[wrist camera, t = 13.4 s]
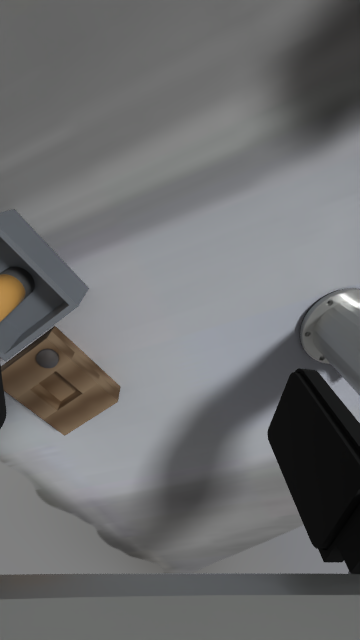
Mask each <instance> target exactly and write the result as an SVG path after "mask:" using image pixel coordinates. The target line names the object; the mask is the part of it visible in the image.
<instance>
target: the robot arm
mask: <svg viewBox="0 0 360 640" xmlns="http://www.w3.org/2000/svg"><path fill="white" fill-rule="evenodd" d="M300 340H301V344H302V346H303V349H304V350H305V351H306V352H307V354H308V355H309V356H310V357H311V358H313V359H314V360H316V361H318V362H321V363H326V364H331V365H332V366H333V367H334V368H335V369H336V370H337V371H338V372H339V373H340V375H341V376H342V377H343V378H344V379H345V380H346V381H347V382H348V383H349V384H350V386H351V387H352V388H353V389H354V390H355V391H356V392H357V393H358V394H359V395H360V289H357V288H347V289H342V290H338V291H335V292H333V293H330V294H328V295H327V296H325V297H323V298H322V299H321V300H319V301H318V302H317V303H316V304H315V305H314V306H313V307H312V308H311V309H310V310H309V312H308V313H307V314H306V316H305V318H304V320H303V322H302V325H301V329H300ZM5 418H6V405H5V397H4V389H3V381H2V374H1V366H0V429H1V427H2V425H3V423H4V421H5ZM268 440H269V442H270V445H271V447H272V450H273V452H274V454H275V457H276V459H277V462H278V464H279V466H280V469H281V471H282V474H283V476H284V478H285V481H286V483H287V485H288V488H289V490H290V493H291V495H292V497H293V500H294V502H295V505H296V507H297V509H298V512H299V514H300V517H301V519H302V521H303V524H304V526H305V528H306V531H307V533H308V536H309V538H310V540H311V542H312V544H313V546H314V547H315V548H318V549H319V552H320V554H321V556H322V559H323V561H324V562H343V561H345V563H346V565H347V567H348V569H349V572H348V574H40V575H39V574H33V575H0V640H360V423H359V422H358V421H357V420H356V418H355V417H354V416H353V415H352V413H351V412H350V411H349V410H348V409H347V407H346V406H345V405H344V404H343V402H342V401H341V400H340V399H339V397H338V396H337V395H336V394H335V393H334V391H333V390H332V389H331V388H330V386H329V385H328V384H327V383H326V381H325V380H324V379H323V378H322V376H321V375H320V374H319V373H318V372H317V371H315V370H308V369H297V370H296V371H295V372H293V373H291V375H290V376H289V379H288V381H287V384H286V386H285V389H284V391H283V394H282V396H281V399H280V401H279V404H278V406H277V409H276V411H275V414H274V416H273V419H272V421H271V424H270V426H269V429H268Z"/></svg>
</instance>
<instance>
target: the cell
mask: <svg viewBox="0 0 360 640" xmlns="http://www.w3.org/2000/svg"><path fill="white" fill-rule="evenodd" d="M34 287H35V282H34V279H33V277H32V275H31V274H30V273H29V272H28V271H26V270H25V269H23V268H20V267H9V268H7V269H5V270H4V271H2V272H1V273H0V322H1V321H2V320H3V319H4V318H5V317H6V316H7V315H8V314H9V313H10V312H11V311H12V310H14V309H15V308H16V307H17V306H18V305H19V304H20V303H21V302H22V301H23V300H24V299H25V298H26V297H28V296H29V295H30V294H31V293H32V292H33V290H34Z"/></svg>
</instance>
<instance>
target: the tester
mask: <svg viewBox="0 0 360 640" xmlns="http://www.w3.org/2000/svg"><path fill="white" fill-rule="evenodd" d="M1 374H2V381H3V389H4V391H5V392H7V393H8V394H9V395H11V396H12V397H13V398H15V399H16V400H17V401H19V402H20V403H21V404H23V405H24V406H25V407H27V408H28V409H29V410H31V411H32V412H33V413H35V414H36V415H38V416H39V417H40V418H42V419H43V420H44V421H46V422H47V423H48V424H50V425H51V426H52V427H54V428H55V429H56V430H58V431H59V432H60V433H62V434H63V435H66V434H68V433H70V432H71V431H73V430H74V429H76V428H77V427H79V426H81V425H82V424H84V423H85V422H87V421H88V420H90V419H92V418H93V417H95V416H96V415H98V414H99V413H101V412H103V411H104V410H106V409H107V408H109V407H110V406H112V405H114V404H115V403H117V402H118V398H119V392H120V386H119V385H118V384H117V383H116V382H115V381H114V380H113V379H112V378H111V377H109V376H108V375H107V374H106V373H105V372H104V371H103V370H102V369H101V368H100V367H99V366H98V365H97V364H95V363H94V362H93V361H92V360H91V359H90V358H89V357H88V356H87V355H86V354H85V353H84V352H83V351H81V350H80V349H79V348H78V347H77V346H76V345H75V344H74V343H73V342H72V341H71V340H70V339H69V338H67V337H66V336H65V335H64V334H63V333H62V332H61V331H60V330H59V329H58V328H57V327H56V326H54V327H53V328H52V329H50V330H49V331H48V332H46V333H45V334H44V335H42V336H41V337H40V338H38V339H37V340H36V341H34V342H33V343H32V344H30V345H29V346H28V347H26V348H25V349H24V350H22V351H21V352H20V353H18V354H17V355H16V356H14V357H13V358H12V359H11V360H9V361H8V362H7V363H5V364H4V365H3V366H2V367H1Z"/></svg>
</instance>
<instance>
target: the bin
mask: <svg viewBox="0 0 360 640" xmlns="http://www.w3.org/2000/svg"><path fill="white" fill-rule="evenodd" d="M9 267H20V268H23V269H25V270H26V271H28V272H29V273H30V274H31V275H32V277H33V279H34V282H35V287H34V290H33V292H32V293H31V294H30V295H29V296H28V297H26V298H25V299H24V300H23V301H22V302H21V303H20V304H19V305H18V306H17V307H16V308H15V309H14V310H12V311H11V312H10V313H9V314H8V315H7V316H6V317H5V318H4V319H3V320H2V321H1V322H0V358H2V359H3V360H4V361H6V360H8V359H9V358H10V357H12V356H13V355H14V354H16V353H17V352H18V351H20V350H21V349H22V348H24V347H25V346H26V345H28V344H29V343H30V342H32V341H33V340H34V339H35V338H37V337H38V336H39V335H41V334H42V333H43V332H45V331H46V330H47V329H49V328H50V327H51V326H53V325H54V324H55V323H57V322H58V321H59V320H61V319H62V318H63V317H65V316H66V315H67V314H69V313H70V312H71V311H73V310H74V309H75V308H76V307H78V306H79V304H80V302H81V301H82V299H83V297H84V296H85V294H86V292H87V291H88V289H89V288H88V287H87V286H86V285H85V284H84V282H83V281H82V280H81V279H80V278H79V277H78V276H77V275H76V274H75V273H74V272H73V271H72V270H71V269H70V268H69V267H68V265H67V264H66V263H65V262H64V261H63V260H62V259H61V258H60V257H59V256H58V255H57V254H56V253H55V252H54V251H53V250H52V248H51V247H50V246H49V245H48V244H47V243H46V242H45V241H44V240H43V239H42V238H41V237H40V236H39V235H38V234H37V233H36V231H35V230H34V229H33V228H32V227H31V226H30V225H29V224H28V223H27V222H26V221H25V220H24V219H23V218H22V217H21V216H20V214H19V213H18V212H17V211H16V210H15V209H13V210H9V211H5V212H1V213H0V273H1V272H2V271H4V270H5V269H7V268H9Z"/></svg>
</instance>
